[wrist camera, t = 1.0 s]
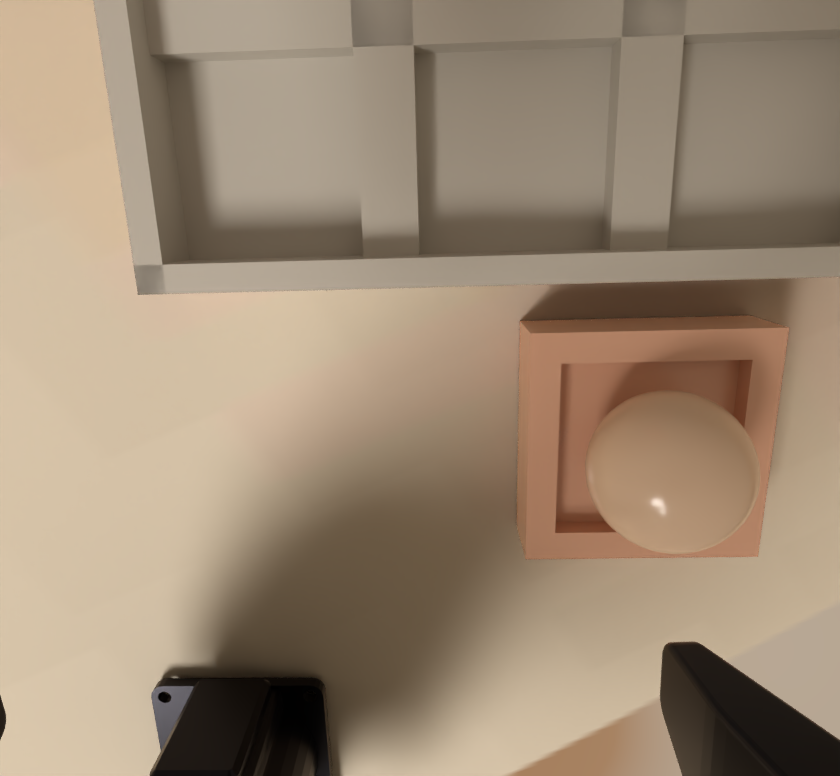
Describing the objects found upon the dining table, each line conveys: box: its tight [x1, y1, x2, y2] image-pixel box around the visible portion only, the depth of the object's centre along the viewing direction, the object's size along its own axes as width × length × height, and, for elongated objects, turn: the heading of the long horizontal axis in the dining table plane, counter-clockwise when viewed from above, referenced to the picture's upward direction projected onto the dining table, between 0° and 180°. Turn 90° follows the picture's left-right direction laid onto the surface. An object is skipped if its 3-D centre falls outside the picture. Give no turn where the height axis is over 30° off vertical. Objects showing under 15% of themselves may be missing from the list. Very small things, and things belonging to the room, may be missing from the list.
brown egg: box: [585, 390, 760, 554], centre depth 17 cm, size 4×4×4 cm
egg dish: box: [516, 315, 789, 559], centre depth 19 cm, size 7×7×2 cm
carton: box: [93, 0, 840, 295], centre depth 16 cm, size 14×21×2 cm, turn 92°
